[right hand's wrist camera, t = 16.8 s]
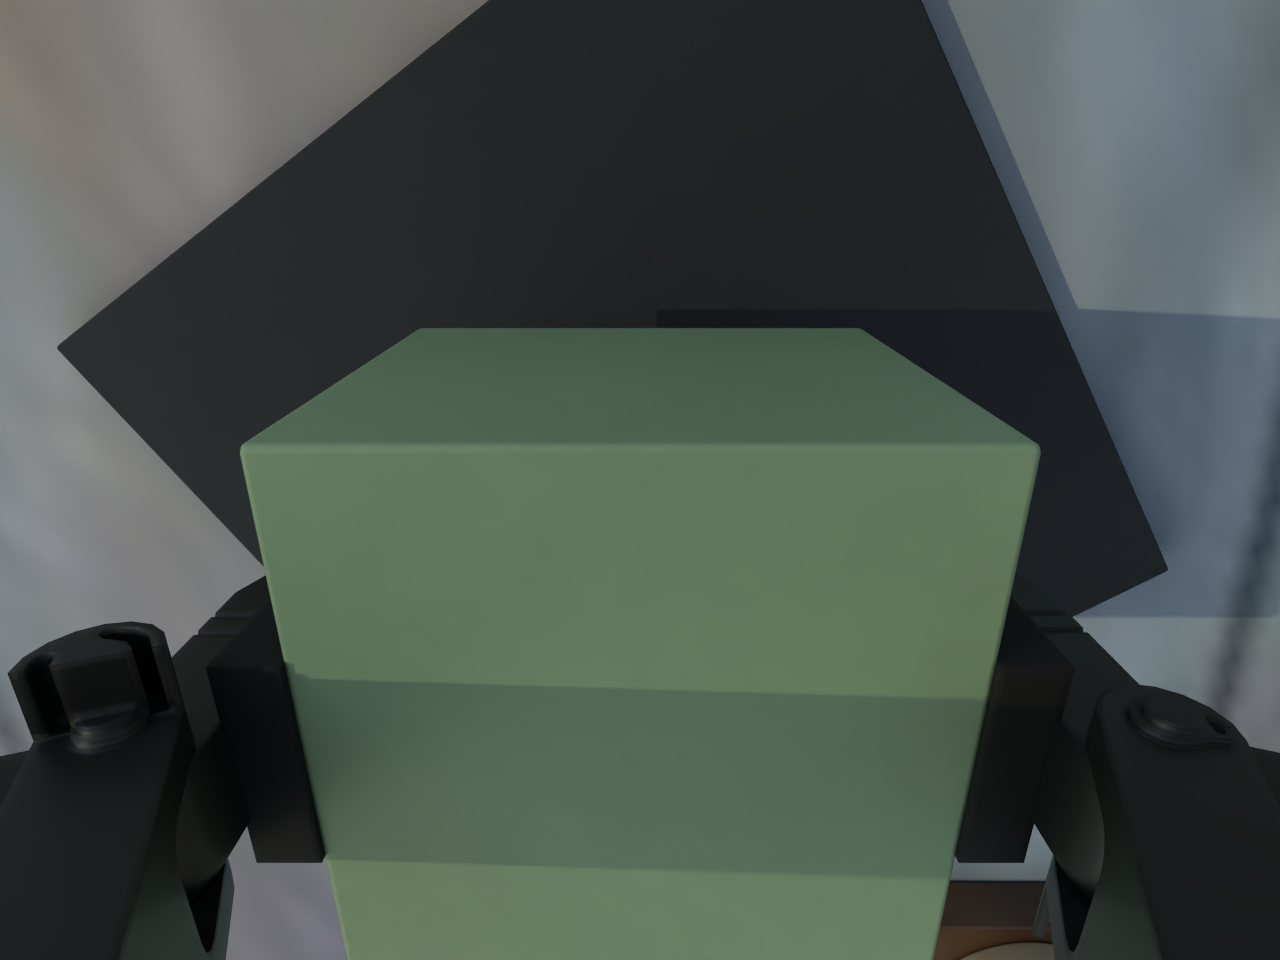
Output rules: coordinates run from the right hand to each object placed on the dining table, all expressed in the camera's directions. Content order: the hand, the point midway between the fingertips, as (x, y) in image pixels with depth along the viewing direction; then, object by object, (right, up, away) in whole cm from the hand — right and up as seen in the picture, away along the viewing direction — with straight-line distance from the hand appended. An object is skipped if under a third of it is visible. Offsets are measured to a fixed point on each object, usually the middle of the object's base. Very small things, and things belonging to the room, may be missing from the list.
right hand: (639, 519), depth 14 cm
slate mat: (0, +1, +3) cm, 3 cm away
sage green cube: (0, 0, 0) cm, 0 cm away
